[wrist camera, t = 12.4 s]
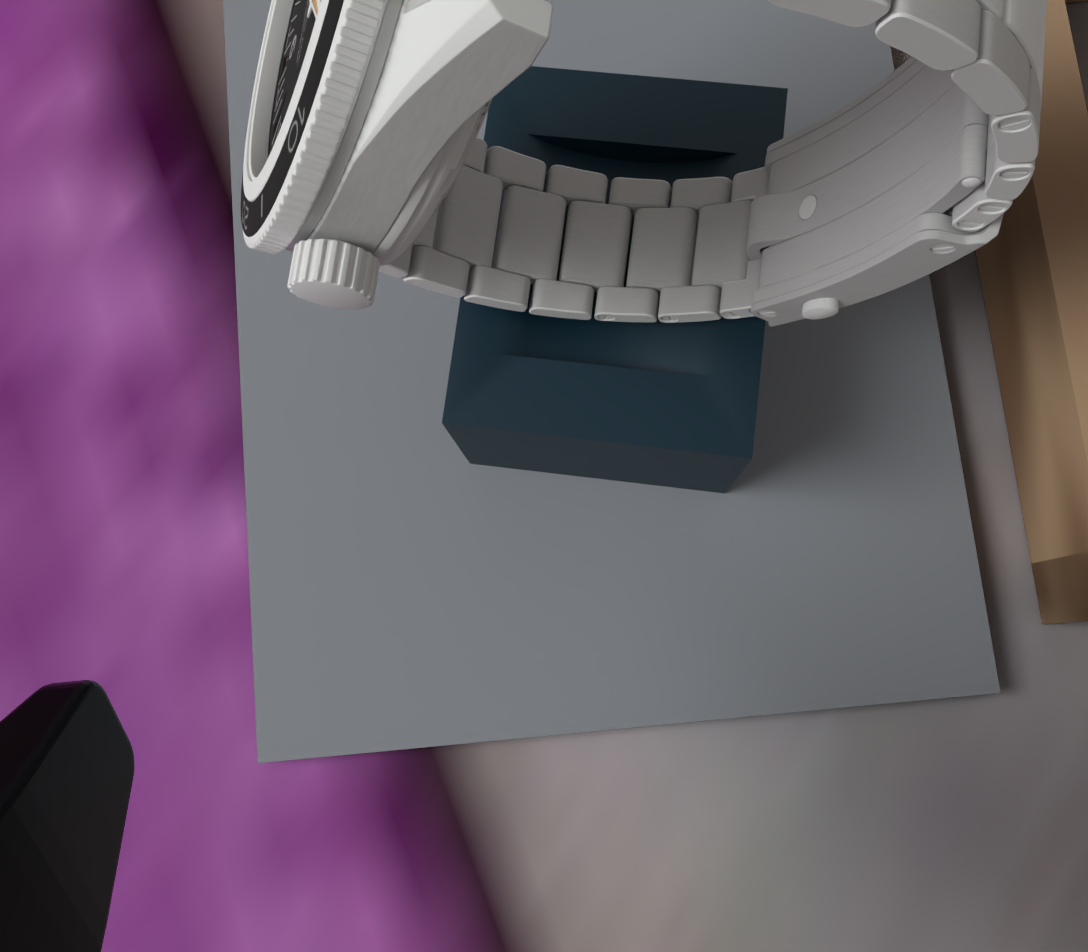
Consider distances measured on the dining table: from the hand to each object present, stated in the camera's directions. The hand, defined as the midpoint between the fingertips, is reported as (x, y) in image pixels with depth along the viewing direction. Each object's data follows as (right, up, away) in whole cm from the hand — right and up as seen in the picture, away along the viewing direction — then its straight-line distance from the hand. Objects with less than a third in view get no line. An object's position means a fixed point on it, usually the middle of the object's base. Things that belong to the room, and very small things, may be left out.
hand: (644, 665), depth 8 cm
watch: (0, +4, +10) cm, 10 cm away
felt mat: (0, +4, +10) cm, 11 cm away
